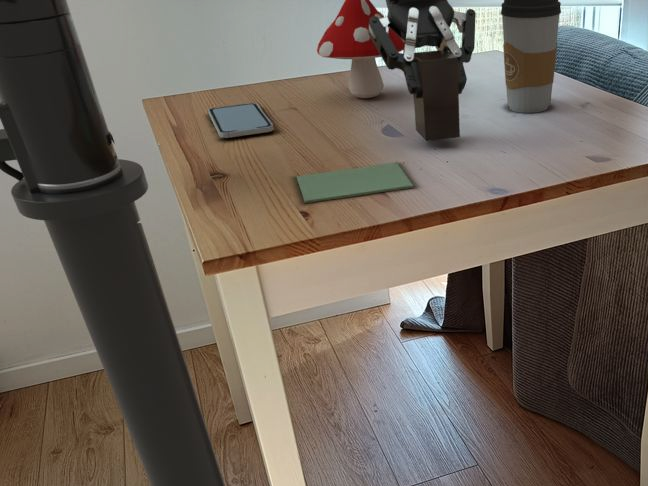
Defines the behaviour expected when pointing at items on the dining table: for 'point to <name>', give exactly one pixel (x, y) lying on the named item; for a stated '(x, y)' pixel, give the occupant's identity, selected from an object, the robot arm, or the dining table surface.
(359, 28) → the decorative mushroom
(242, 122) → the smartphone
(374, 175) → the mat
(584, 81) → the dining table surface
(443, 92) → the walnut block
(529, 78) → the coffee cup
